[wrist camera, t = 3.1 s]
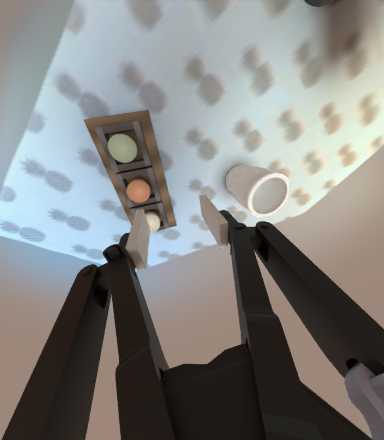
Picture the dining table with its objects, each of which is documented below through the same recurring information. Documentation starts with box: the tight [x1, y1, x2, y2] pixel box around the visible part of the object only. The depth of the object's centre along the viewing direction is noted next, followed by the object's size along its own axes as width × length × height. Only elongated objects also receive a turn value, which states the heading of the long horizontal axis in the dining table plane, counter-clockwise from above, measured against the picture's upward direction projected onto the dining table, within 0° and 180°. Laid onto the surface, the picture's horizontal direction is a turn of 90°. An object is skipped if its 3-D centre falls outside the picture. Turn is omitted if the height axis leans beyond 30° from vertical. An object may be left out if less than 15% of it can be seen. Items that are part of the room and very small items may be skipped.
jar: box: [226, 166, 290, 217], centre depth 38 cm, size 11×10×15 cm
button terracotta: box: [127, 178, 150, 203], centre depth 33 cm, size 5×5×3 cm
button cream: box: [145, 211, 160, 233], centre depth 38 cm, size 5×5×3 cm
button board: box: [84, 110, 177, 231], centre depth 37 cm, size 30×13×5 cm, turn 9°
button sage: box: [108, 134, 138, 163], centre depth 29 cm, size 5×5×3 cm
